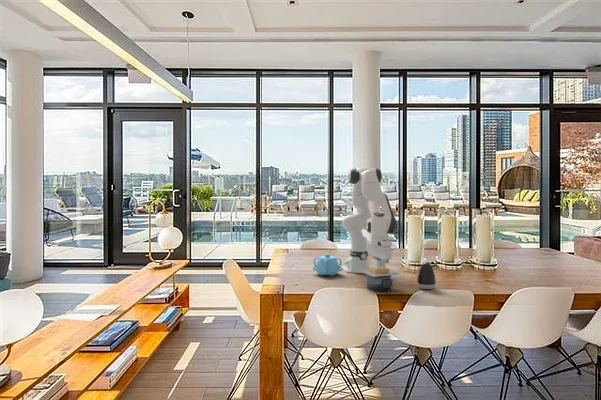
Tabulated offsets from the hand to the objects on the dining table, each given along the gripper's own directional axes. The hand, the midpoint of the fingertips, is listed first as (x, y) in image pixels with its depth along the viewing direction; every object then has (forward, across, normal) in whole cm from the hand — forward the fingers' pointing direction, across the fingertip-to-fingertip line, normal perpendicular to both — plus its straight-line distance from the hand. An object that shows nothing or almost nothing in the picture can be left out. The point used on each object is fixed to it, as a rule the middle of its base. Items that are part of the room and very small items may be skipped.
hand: (378, 265), depth 245 cm
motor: (+13, 0, 0) cm, 13 cm away
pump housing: (+3, 0, +1) cm, 3 cm away
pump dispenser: (+14, +12, +24) cm, 30 cm away
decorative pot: (+14, -44, -12) cm, 48 cm away
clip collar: (+3, 0, 0) cm, 3 cm away
